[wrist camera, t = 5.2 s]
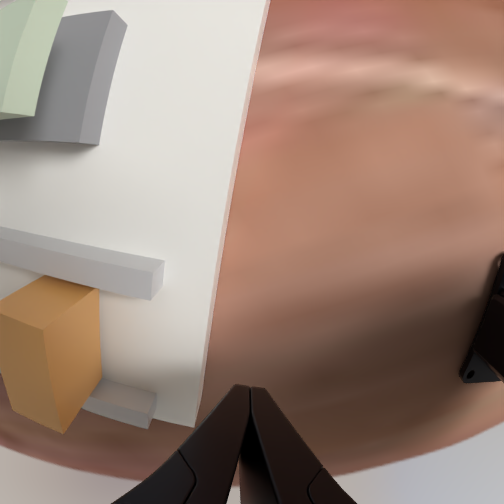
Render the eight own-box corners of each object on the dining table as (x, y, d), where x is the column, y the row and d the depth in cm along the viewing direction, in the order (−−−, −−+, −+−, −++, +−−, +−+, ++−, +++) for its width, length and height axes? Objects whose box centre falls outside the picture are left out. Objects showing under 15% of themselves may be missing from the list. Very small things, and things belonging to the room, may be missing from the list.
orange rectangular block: (99, 285, 9) (42, 329, 6) (102, 377, 10) (63, 434, 7) (49, 272, 9) (-13, 307, 6) (57, 361, 10) (12, 410, 7)
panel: (294, -97, 7) (301, -151, 3) (201, 396, 13) (185, 465, 9) (31, -66, 7) (-2, -92, 3) (-40, 312, 12) (-84, 340, 8)
